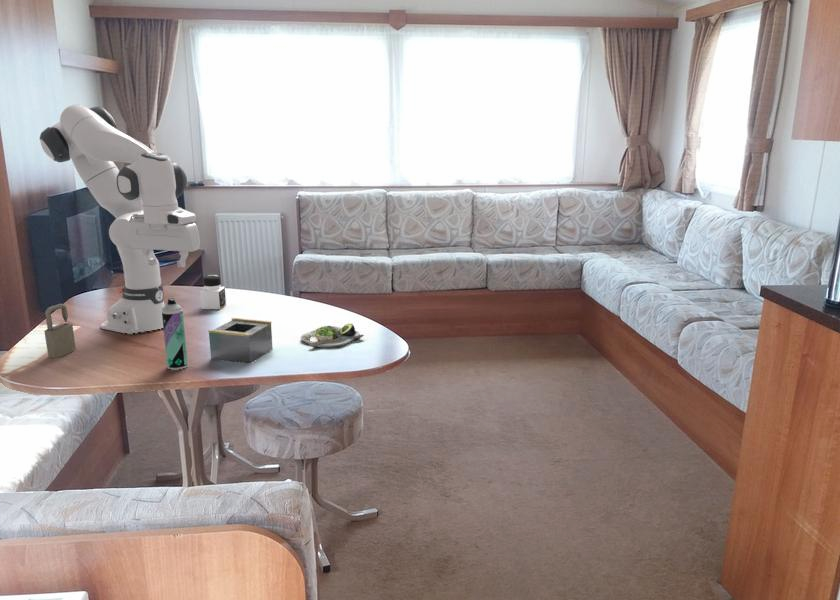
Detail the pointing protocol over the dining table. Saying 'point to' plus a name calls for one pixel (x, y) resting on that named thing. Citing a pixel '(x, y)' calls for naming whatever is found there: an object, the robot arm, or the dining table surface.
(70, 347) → the padlock
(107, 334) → the dining table surface
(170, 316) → the spray can
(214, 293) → the medicine bottle
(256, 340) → the socket block
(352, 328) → the salad plate
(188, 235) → the robot arm
